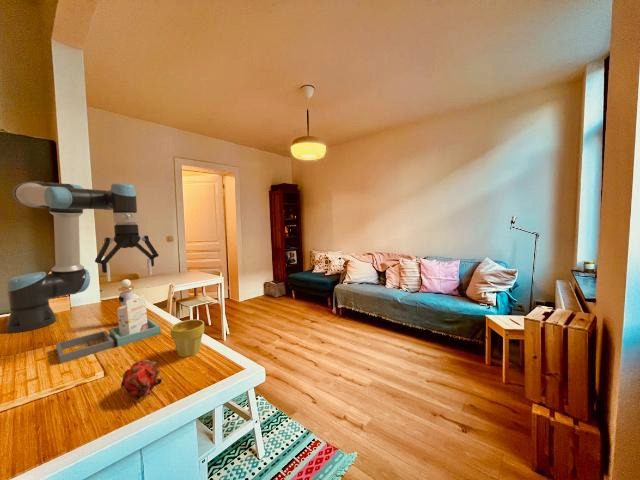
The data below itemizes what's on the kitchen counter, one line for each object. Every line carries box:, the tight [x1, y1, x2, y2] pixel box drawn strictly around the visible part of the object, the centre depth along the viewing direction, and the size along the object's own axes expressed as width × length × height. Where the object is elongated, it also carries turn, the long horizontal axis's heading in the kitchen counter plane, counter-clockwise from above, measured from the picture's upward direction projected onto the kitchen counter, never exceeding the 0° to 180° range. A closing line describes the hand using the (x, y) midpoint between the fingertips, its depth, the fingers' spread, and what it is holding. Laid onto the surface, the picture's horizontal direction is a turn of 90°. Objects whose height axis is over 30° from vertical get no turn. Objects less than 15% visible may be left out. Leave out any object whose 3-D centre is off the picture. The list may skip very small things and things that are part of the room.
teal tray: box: [108, 318, 162, 348], centre depth 105 cm, size 14×14×3 cm
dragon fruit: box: [120, 358, 163, 400], centre depth 69 cm, size 8×8×12 cm
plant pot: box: [170, 318, 205, 358], centre depth 90 cm, size 10×10×10 cm
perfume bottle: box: [117, 278, 135, 307], centre depth 118 cm, size 6×6×20 cm
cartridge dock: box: [55, 330, 115, 364], centre depth 94 cm, size 14×14×2 cm
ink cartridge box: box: [116, 294, 148, 337], centre depth 104 cm, size 9×5×15 cm, turn 169°
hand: (130, 277), depth 103 cm, fingers open, 13 cm apart
